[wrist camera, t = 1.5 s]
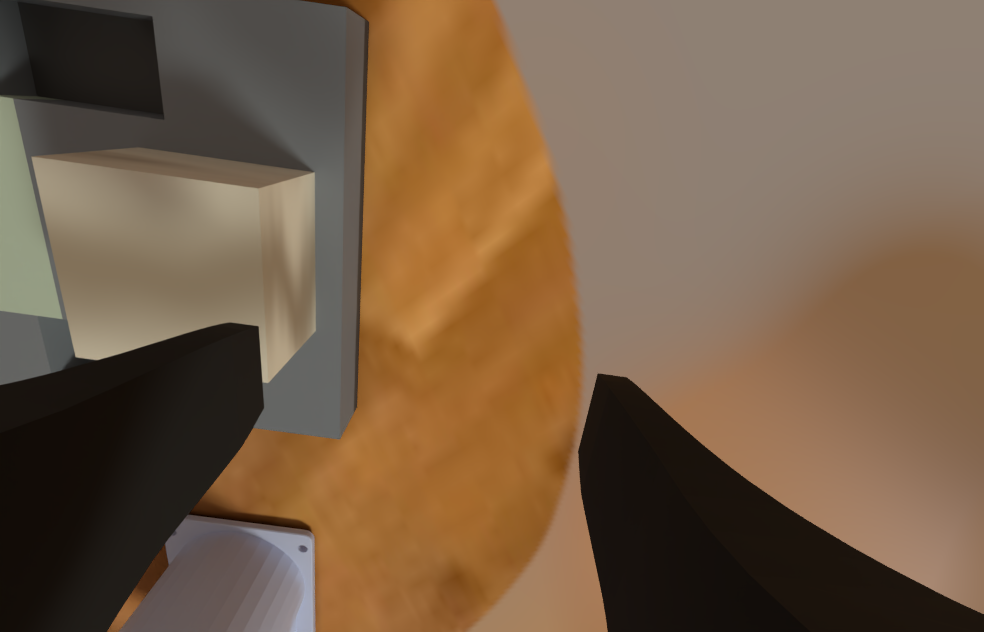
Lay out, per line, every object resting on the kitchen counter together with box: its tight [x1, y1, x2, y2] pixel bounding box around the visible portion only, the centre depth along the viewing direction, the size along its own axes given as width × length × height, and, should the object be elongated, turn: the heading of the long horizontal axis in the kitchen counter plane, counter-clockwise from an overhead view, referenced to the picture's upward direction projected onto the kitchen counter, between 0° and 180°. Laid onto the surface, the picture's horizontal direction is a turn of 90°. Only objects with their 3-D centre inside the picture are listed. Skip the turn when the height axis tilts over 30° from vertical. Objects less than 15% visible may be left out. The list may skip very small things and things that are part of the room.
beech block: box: [31, 147, 316, 383], centre depth 16 cm, size 6×6×4 cm
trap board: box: [0, 0, 369, 439], centre depth 18 cm, size 16×18×4 cm
